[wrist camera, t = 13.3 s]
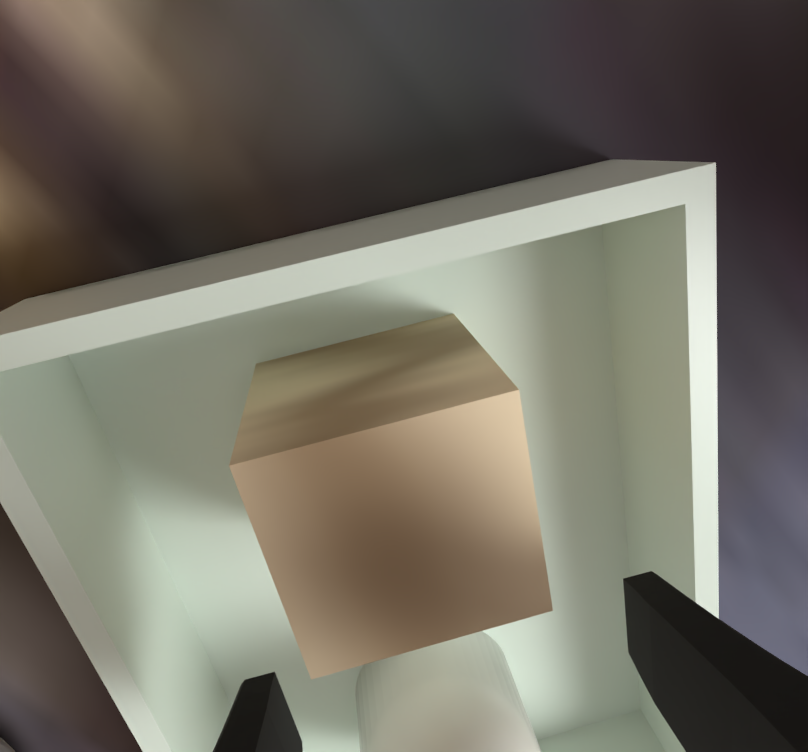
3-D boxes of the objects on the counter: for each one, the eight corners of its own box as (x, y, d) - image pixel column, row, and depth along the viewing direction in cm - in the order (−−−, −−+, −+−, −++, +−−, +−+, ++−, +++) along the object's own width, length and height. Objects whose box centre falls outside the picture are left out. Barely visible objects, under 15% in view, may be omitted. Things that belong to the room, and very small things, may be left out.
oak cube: (453, 313, 15) (519, 389, 10) (485, 481, 16) (553, 610, 12) (256, 363, 14) (228, 465, 10) (311, 528, 16) (311, 679, 12)
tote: (611, 159, 14) (715, 161, 11) (650, 704, 22) (719, 818, 18) (24, 298, 13) (-85, 354, 10) (270, 815, 21) (261, 959, 17)
